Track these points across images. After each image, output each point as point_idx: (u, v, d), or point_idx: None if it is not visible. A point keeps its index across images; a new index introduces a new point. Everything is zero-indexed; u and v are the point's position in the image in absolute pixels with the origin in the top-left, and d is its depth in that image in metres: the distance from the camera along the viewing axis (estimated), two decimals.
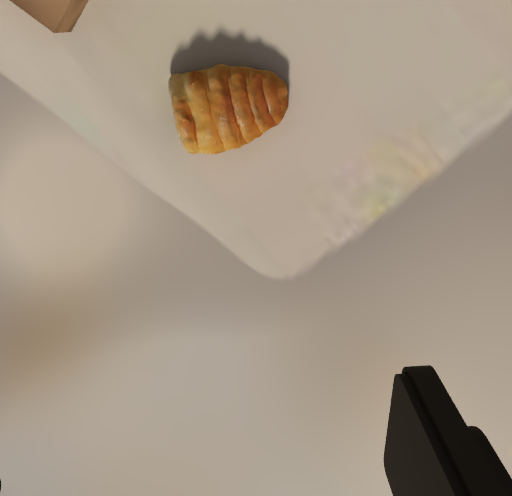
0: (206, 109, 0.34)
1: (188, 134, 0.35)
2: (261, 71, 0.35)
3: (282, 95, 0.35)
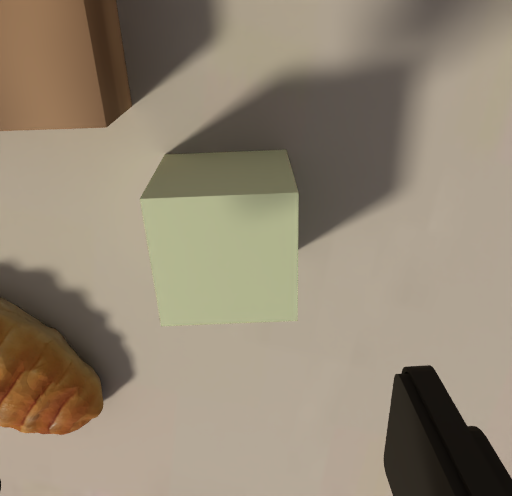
0: None
1: None
2: (83, 379, 0.22)
3: (85, 419, 0.23)
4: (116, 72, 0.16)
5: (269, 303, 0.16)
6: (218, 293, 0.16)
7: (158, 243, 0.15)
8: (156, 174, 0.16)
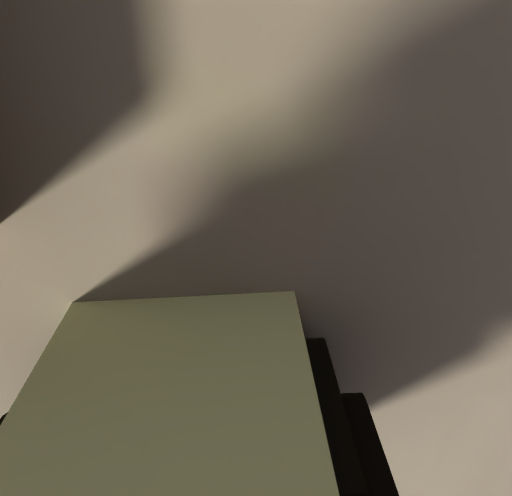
0: None
1: None
2: None
3: None
4: None
5: None
6: None
7: None
8: (30, 387, 0.08)
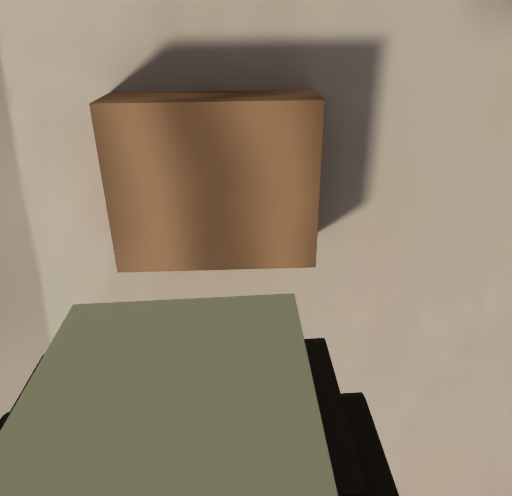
0: None
1: None
2: None
3: None
4: None
5: None
6: None
7: None
8: (30, 390, 0.08)
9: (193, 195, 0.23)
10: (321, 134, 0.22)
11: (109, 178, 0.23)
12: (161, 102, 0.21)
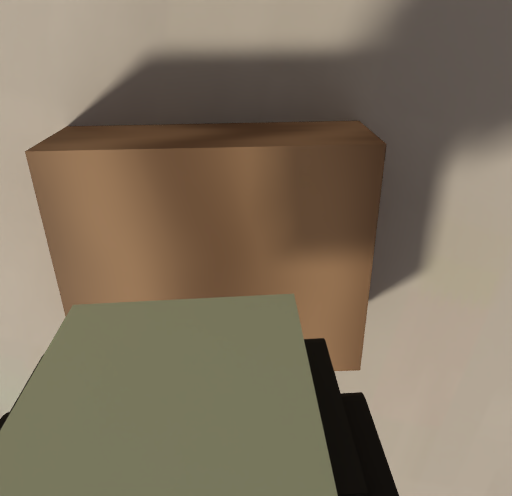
0: None
1: None
2: None
3: None
4: None
5: None
6: None
7: None
8: (30, 391, 0.08)
9: (186, 278, 0.16)
10: (378, 193, 0.15)
11: (62, 256, 0.15)
12: (136, 148, 0.14)
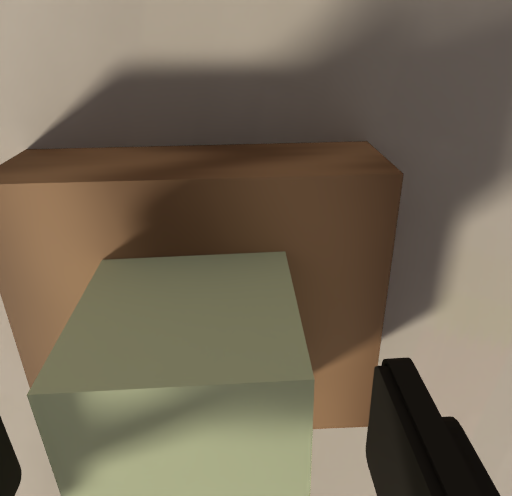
0: None
1: None
2: None
3: None
4: None
5: None
6: None
7: (67, 457, 0.09)
8: (76, 316, 0.10)
9: None
10: (393, 231, 0.12)
11: (17, 306, 0.13)
12: (102, 180, 0.11)
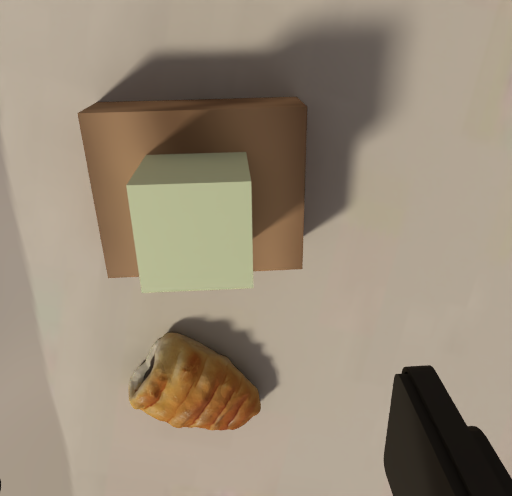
0: (178, 399, 0.30)
1: (144, 402, 0.30)
2: (250, 388, 0.32)
3: (250, 416, 0.33)
4: None
5: (230, 273, 0.20)
6: (189, 264, 0.20)
7: (140, 222, 0.19)
8: (139, 169, 0.20)
9: None
10: (304, 140, 0.23)
11: (98, 186, 0.23)
12: (148, 111, 0.22)
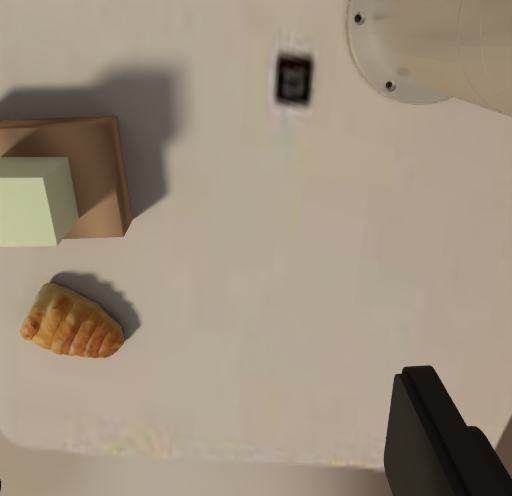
0: (52, 330, 0.41)
1: (28, 333, 0.41)
2: (112, 325, 0.43)
3: (115, 347, 0.44)
4: (126, 211, 0.38)
5: (40, 235, 0.31)
6: (12, 228, 0.31)
7: None
8: None
9: None
10: (107, 147, 0.34)
11: None
12: None
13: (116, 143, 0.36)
